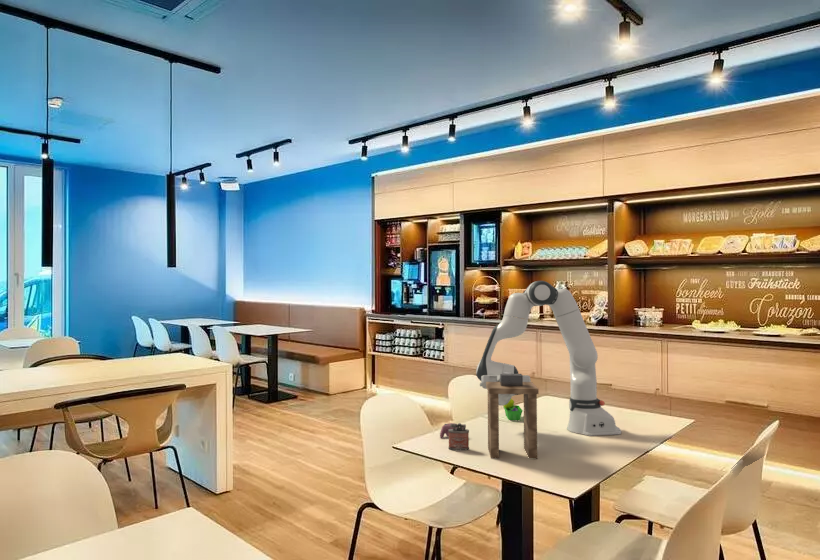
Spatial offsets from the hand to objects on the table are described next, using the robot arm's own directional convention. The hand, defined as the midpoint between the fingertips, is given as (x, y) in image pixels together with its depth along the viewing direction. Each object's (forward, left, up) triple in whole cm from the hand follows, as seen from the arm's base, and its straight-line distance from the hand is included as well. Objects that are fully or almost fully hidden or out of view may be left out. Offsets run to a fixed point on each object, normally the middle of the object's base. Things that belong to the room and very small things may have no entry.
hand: (507, 374), depth 219 cm
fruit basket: (-7, -43, -28) cm, 52 cm away
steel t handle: (0, +6, -2) cm, 6 cm away
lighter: (+20, +8, -28) cm, 35 cm away
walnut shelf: (0, +13, -28) cm, 31 cm away
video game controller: (+22, -9, -28) cm, 37 cm away
